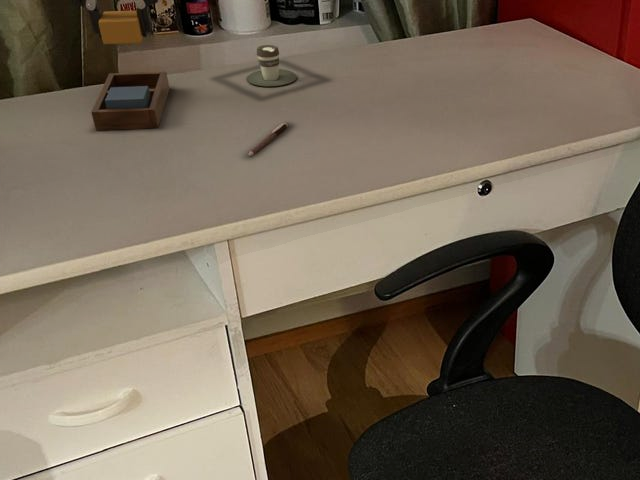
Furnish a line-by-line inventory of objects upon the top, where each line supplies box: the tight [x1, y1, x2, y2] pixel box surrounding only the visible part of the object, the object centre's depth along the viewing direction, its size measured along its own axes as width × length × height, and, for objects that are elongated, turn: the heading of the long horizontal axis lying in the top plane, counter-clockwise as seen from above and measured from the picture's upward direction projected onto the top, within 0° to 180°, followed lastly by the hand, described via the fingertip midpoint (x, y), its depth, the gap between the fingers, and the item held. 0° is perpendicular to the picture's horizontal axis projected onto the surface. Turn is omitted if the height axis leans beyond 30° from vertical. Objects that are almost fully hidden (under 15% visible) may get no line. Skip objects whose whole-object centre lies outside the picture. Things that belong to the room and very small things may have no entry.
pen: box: [247, 121, 289, 158], centre depth 115 cm, size 11×1×1 cm, turn 164°
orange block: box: [98, 10, 145, 45], centre depth 120 cm, size 5×5×3 cm
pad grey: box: [105, 86, 151, 110], centre depth 119 cm, size 5×5×3 cm
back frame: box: [90, 71, 170, 131], centre depth 123 cm, size 8×15×3 cm, turn 10°
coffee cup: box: [246, 44, 298, 88], centre depth 133 cm, size 12×12×5 cm
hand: (124, 35), depth 121 cm, fingers closed on orange block, 5 cm apart
